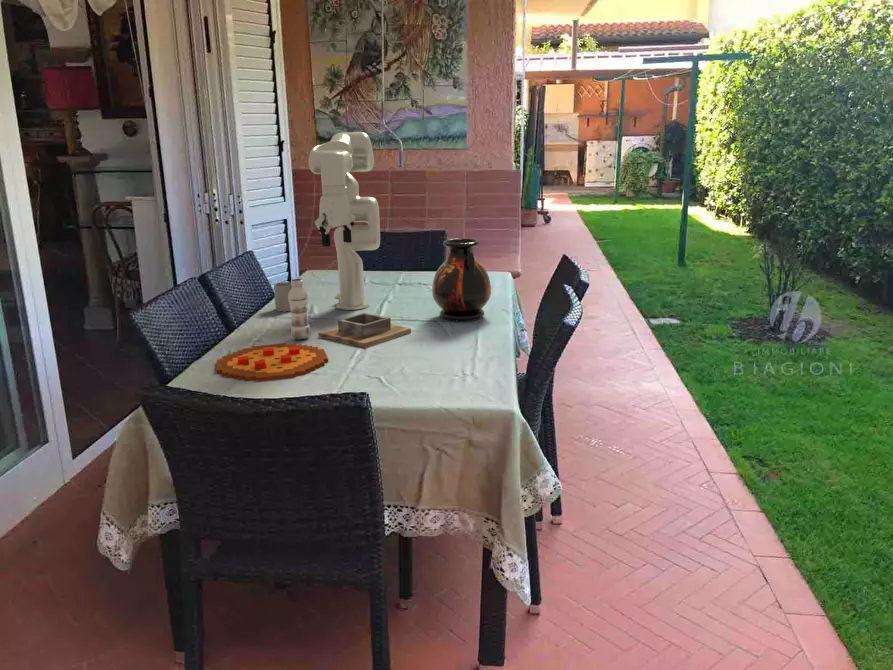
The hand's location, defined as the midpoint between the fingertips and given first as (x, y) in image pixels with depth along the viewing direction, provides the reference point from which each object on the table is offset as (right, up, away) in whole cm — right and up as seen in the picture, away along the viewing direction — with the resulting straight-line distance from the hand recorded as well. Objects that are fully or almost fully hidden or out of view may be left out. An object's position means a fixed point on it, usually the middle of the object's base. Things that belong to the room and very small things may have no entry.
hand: (337, 244), depth 239 cm
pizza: (-16, -39, -20) cm, 46 cm away
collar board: (+8, -30, +8) cm, 32 cm away
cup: (-26, -20, +45) cm, 56 cm away
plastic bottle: (-13, -31, +4) cm, 34 cm away
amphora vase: (+42, -23, +29) cm, 56 cm away
